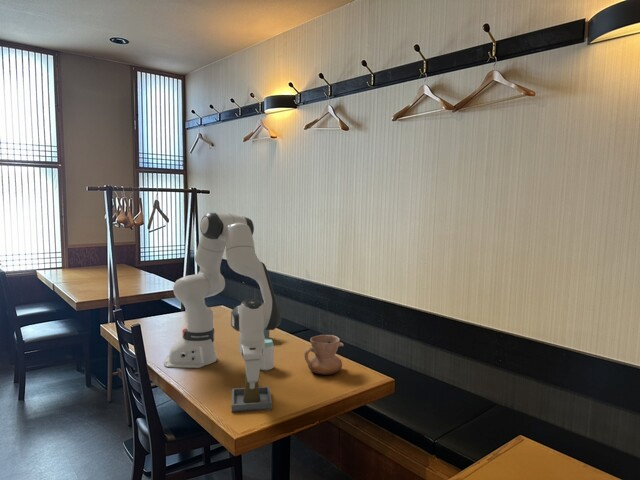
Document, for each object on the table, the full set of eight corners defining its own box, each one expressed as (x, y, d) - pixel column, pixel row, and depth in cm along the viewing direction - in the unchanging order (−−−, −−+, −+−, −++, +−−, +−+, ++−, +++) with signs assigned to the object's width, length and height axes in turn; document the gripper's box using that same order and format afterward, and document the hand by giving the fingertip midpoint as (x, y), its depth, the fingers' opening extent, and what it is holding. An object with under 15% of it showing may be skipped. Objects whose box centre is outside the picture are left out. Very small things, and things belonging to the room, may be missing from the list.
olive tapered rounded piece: (244, 396, 162) (244, 367, 161) (261, 396, 162) (261, 367, 161) (241, 404, 156) (241, 373, 155) (259, 404, 156) (259, 373, 155)
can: (271, 371, 187) (271, 343, 186) (254, 370, 188) (255, 342, 187) (275, 365, 194) (275, 338, 193) (260, 364, 195) (260, 337, 194)
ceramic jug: (335, 362, 199) (335, 331, 198) (350, 373, 186) (350, 340, 185) (297, 369, 192) (297, 336, 190) (311, 381, 178) (311, 346, 177)
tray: (231, 412, 151) (231, 405, 150) (232, 395, 164) (232, 388, 164) (271, 409, 153) (272, 402, 153) (269, 392, 166) (269, 386, 166)
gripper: (242, 337, 166) (242, 373, 168) (243, 356, 146) (243, 397, 148) (259, 337, 168) (259, 373, 169) (262, 355, 148) (262, 396, 149)
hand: (251, 384), depth 158 cm, fingers open, 4 cm apart
